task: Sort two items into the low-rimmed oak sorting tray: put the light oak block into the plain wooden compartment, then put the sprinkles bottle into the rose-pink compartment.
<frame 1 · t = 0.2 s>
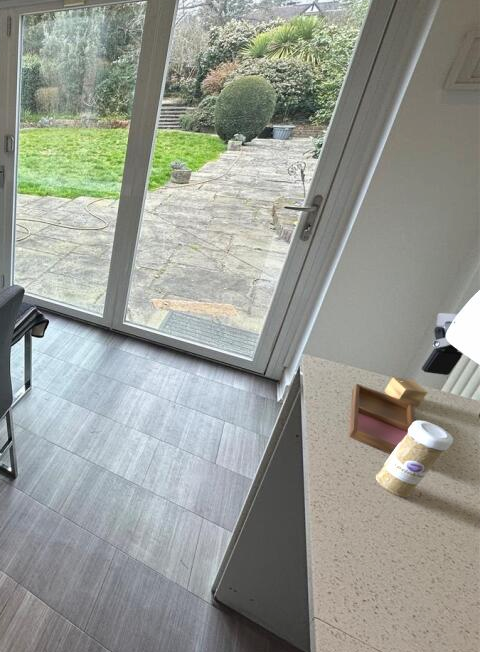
hand: (461, 394, 58), 24 cm above the countertop, tool pointing down, fingers open, 9 cm apart
oak block: (400, 398, 90), on the countertop
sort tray: (379, 423, 83), on the countertop
sprinkles bottle: (391, 486, 71), on the countertop
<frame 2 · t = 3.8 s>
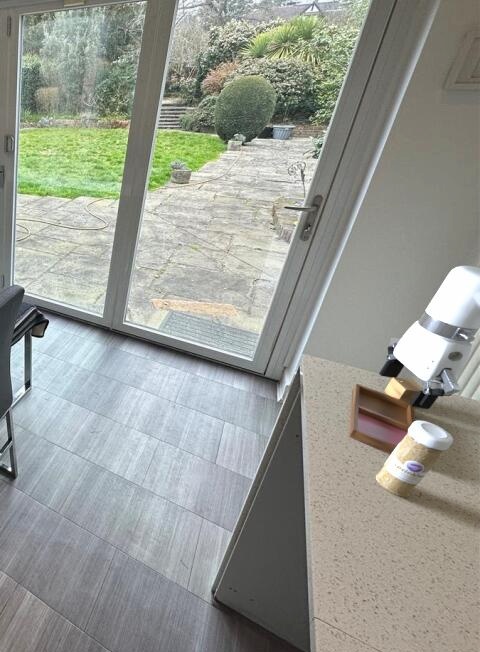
hand: (402, 390, 89), 2 cm above the countertop, tool pointing down, fingers open, 9 cm apart
nothing on the countertop moved.
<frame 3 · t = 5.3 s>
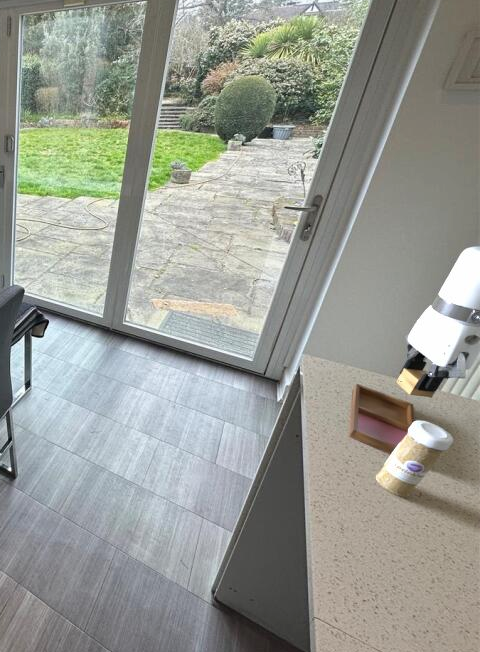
hand: (417, 382, 87), 5 cm above the countertop, tool pointing down, fingers closed on oak block, 3 cm apart
oak block: (413, 389, 88), point 3 cm above the countertop, touching gripper
everything else where it was.
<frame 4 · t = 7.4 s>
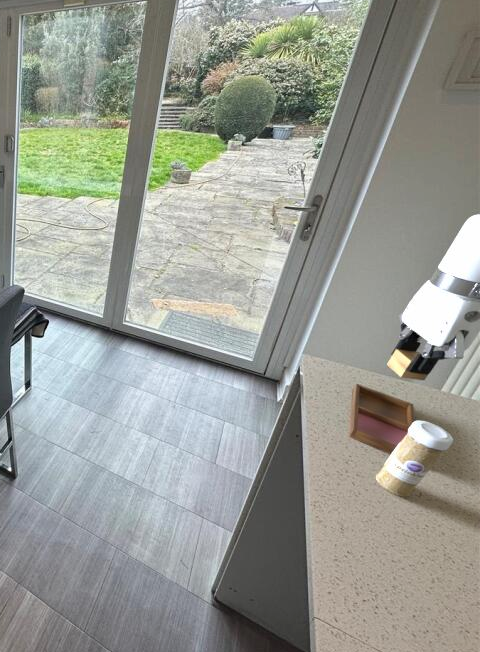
hand: (409, 364, 81), 13 cm above the countertop, tool pointing down, fingers closed on oak block, 3 cm apart
oak block: (404, 372, 82), point 11 cm above the countertop, touching gripper
everything else where it was.
when the fingers open (3 cm above the countertop, at t = 9.8 s): oak block stays where it is, resting on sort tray.
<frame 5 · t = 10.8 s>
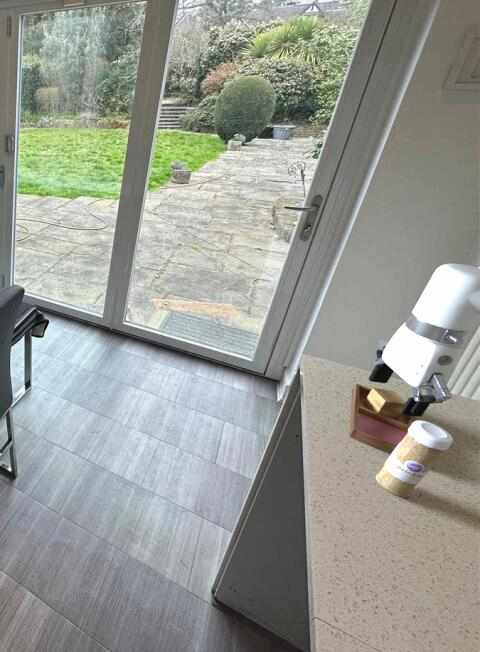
hand: (392, 397, 84), 4 cm above the countertop, tool pointing down, fingers open, 9 cm apart
oak block: (380, 410, 86), resting on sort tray
everything else where it was.
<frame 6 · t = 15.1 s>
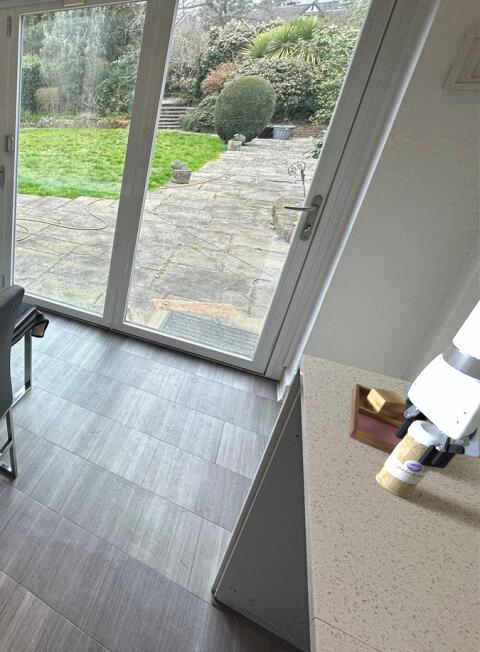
hand: (418, 450, 67), 9 cm above the countertop, tool pointing down, fingers closed on sprinkles bottle, 4 cm apart
sprinkles bottle: (391, 486, 71), on the countertop, touching gripper
everything else where it was.
when the fingers open (9 cm above the countertop, at t = 21.3 s): sprinkles bottle stays where it is, resting on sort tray.
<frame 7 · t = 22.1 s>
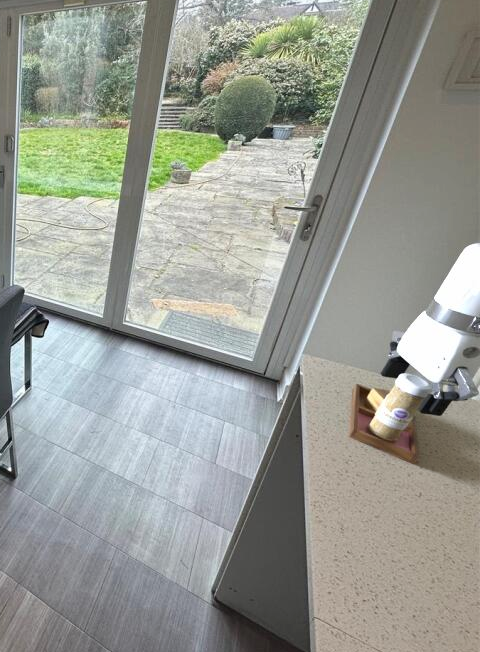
hand: (408, 394, 76), 11 cm above the countertop, tool pointing down, fingers open, 9 cm apart
sprinkles bottle: (381, 434, 80), point 1 cm above the countertop, touching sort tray
everything else where it was.
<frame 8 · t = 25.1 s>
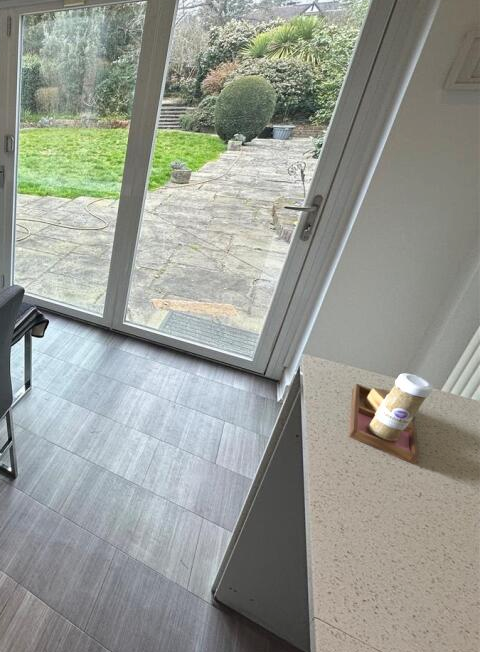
nothing on the countertop moved.
at the end: oak block 0.1 cm from the target spot in the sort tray, point 0.5 cm above the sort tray's base; sprinkles bottle 0.1 cm from the target spot in the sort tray, point 0.5 cm above the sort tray's base; sprinkles bottle tilted 0° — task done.
